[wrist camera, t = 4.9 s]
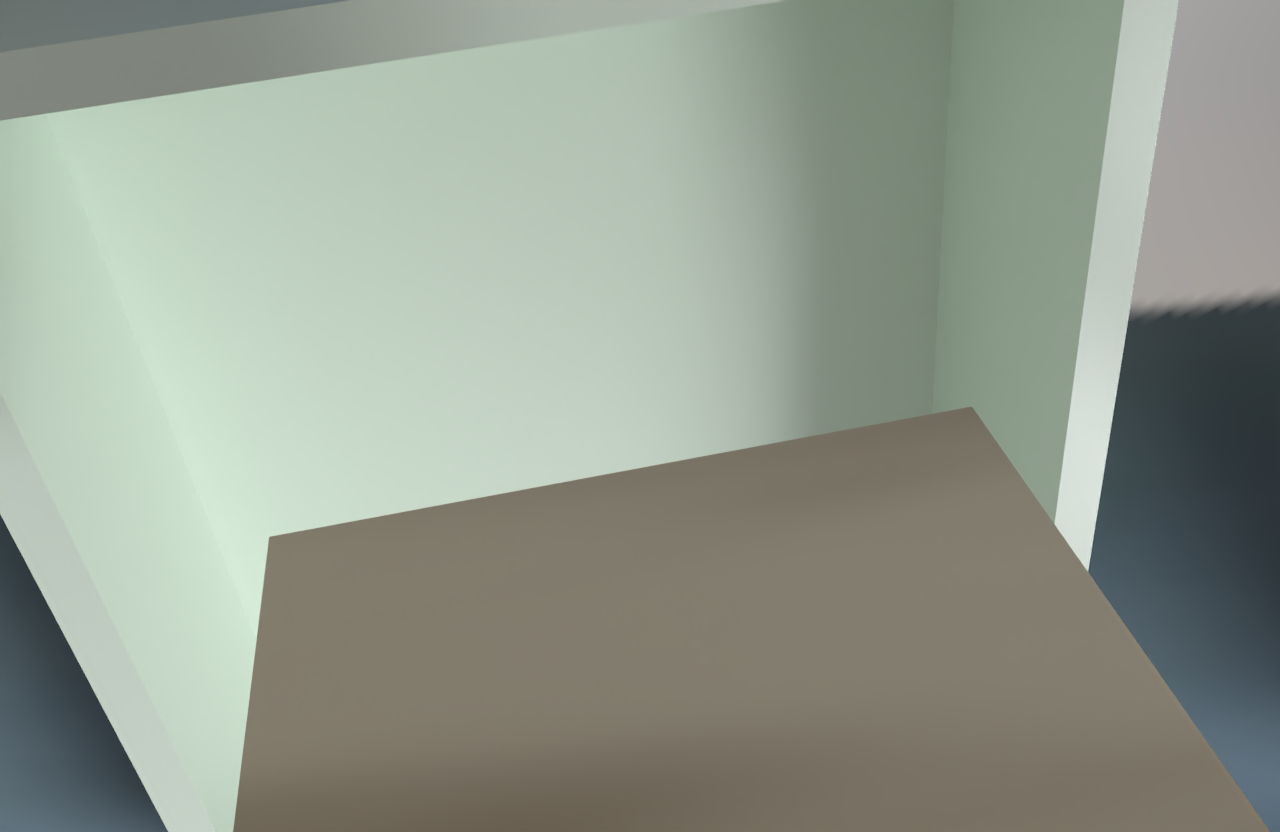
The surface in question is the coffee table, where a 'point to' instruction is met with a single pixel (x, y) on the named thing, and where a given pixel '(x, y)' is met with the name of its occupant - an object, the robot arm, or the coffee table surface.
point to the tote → (520, 276)
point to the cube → (720, 659)
